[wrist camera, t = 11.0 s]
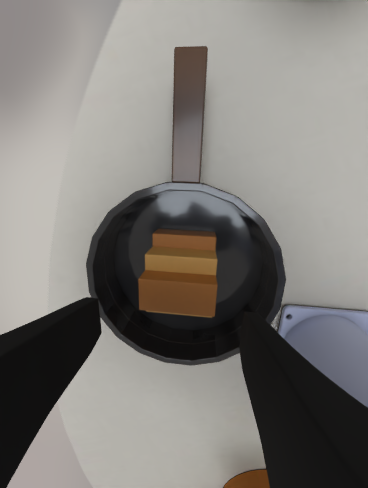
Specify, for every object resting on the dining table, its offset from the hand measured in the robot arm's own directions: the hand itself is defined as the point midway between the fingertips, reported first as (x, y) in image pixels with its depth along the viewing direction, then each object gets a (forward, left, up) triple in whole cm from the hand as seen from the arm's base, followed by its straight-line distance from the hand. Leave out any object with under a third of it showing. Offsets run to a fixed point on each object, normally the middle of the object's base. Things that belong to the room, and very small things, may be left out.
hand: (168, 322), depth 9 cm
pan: (0, 0, -8) cm, 8 cm away
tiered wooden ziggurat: (0, 0, -8) cm, 8 cm away
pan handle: (+10, 0, -6) cm, 12 cm away
